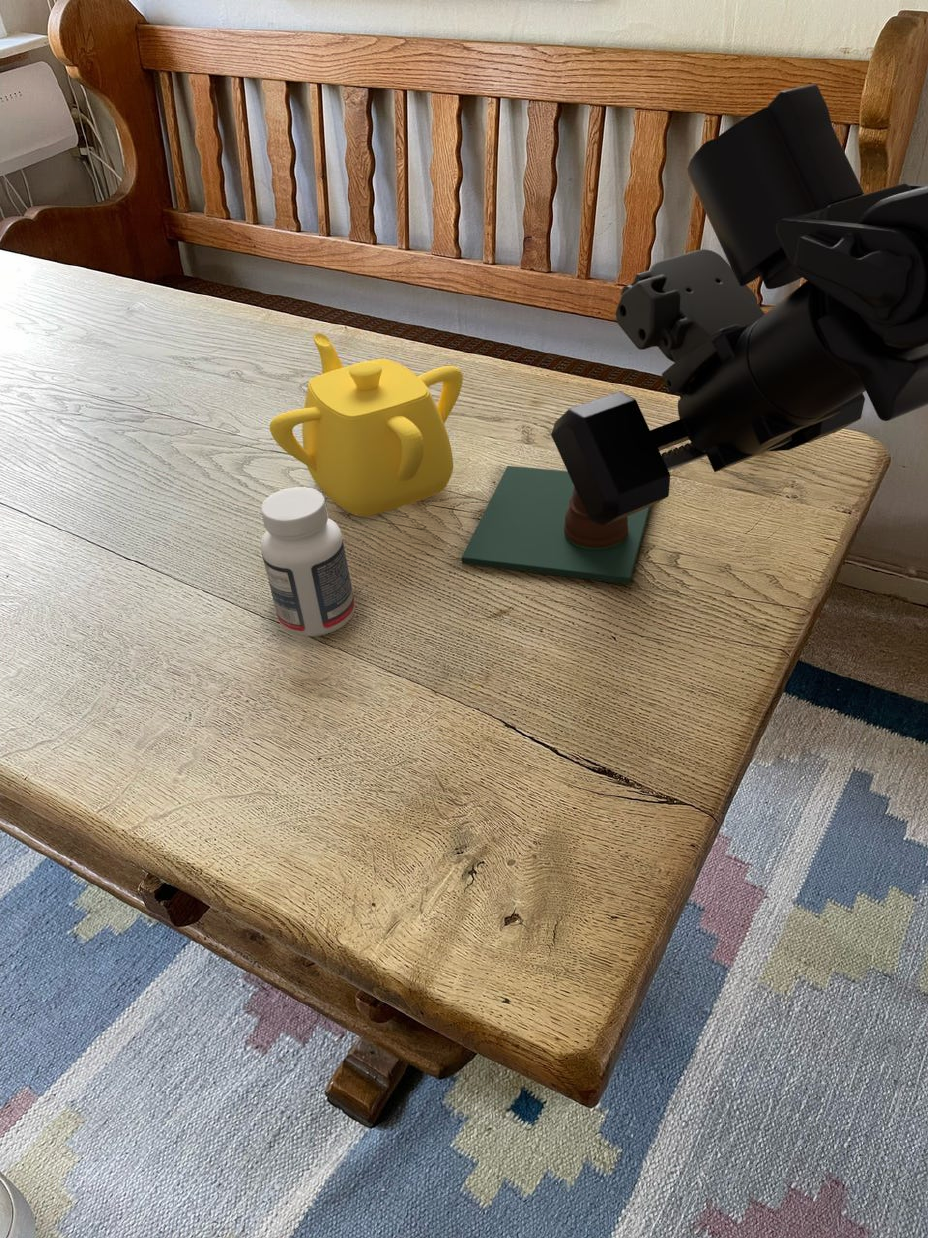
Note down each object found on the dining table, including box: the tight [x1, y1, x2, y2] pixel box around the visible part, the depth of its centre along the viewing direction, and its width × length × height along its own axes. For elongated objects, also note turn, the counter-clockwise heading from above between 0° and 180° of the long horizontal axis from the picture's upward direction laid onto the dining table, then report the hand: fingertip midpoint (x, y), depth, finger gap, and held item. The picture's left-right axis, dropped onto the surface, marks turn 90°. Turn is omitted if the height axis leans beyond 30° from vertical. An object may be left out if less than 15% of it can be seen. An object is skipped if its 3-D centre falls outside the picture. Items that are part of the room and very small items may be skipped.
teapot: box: [269, 332, 464, 517], centre depth 75 cm, size 14×13×10 cm
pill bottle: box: [260, 486, 356, 638], centre depth 62 cm, size 5×5×9 cm
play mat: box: [460, 465, 652, 585], centre depth 72 cm, size 12×13×1 cm
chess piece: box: [564, 487, 628, 550], centre depth 66 cm, size 5×5×10 cm
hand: (642, 469), depth 61 cm, fingers open, 9 cm apart
